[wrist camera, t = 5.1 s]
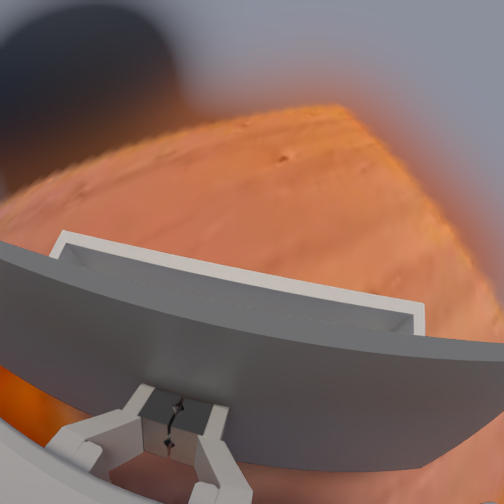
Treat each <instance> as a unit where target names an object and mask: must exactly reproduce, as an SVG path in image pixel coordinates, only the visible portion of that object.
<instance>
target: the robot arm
mask: <svg viewBox="0 0 504 504" xmlns="http://www.w3.org/2000/svg"><path fill="white" fill-rule="evenodd" d="M228 412H229V407H225V406H221V405H216V404H211V403H207V402H203V401H199V400H195V399H191V398H188V397H186V398H184V397H183V396H180V395H177V394H174V393H171V392H168V391H165V390H162V389H159V388H155V387H152V386H149V385H147V384H144V383H143V384H141V385H140V386H139V387H138V389H137V390H136V391H135V393H134V394H133V396H132V397H131V398H130V400H129V401H128V403H127V404H126V405H125V407H124V408H123V410H120V409H116V410H113V411H110V412H107V413H104V414H101V415H98V416H95V417H92V418H89V419H86V420H83V421H79V422H76V423H73V424H69V425H66V426H63V427H62V428H61V429H60V430H59V431H58V432H57V434H56V435H55V436H54V437H53V438H52V439H51V441H50V442H49V443H48V444H47V445H46V446H45V448H43V447H42V446H40V445H39V444H37V443H35V442H34V441H32V440H31V439H29V438H28V437H26V436H25V435H24V434H22V433H21V432H19V431H18V430H16V429H15V428H14V427H12V426H11V425H10V424H8V423H7V422H6V421H4V420H3V419H2V418H1V417H0V504H164V503H161V502H158V501H155V500H152V499H149V498H147V497H144V496H141V495H138V494H136V493H133V492H131V491H128V490H126V489H123V488H121V487H118V486H116V485H114V484H112V482H111V479H110V476H109V472H108V471H110V470H112V469H114V468H116V467H118V466H120V465H121V464H123V463H125V462H127V461H129V460H131V459H132V458H134V457H136V456H138V455H140V454H141V453H143V452H144V451H146V452H149V453H152V454H155V455H158V456H162V457H165V458H168V456H169V453H170V452H171V460H174V461H178V462H181V463H184V464H187V465H191V466H194V468H195V471H196V474H197V477H198V479H199V482H198V483H195V486H194V488H193V491H192V494H191V497H190V500H189V503H188V504H251V502H252V495H253V491H252V489H251V487H250V486H249V484H248V482H247V481H246V479H245V477H244V476H243V474H242V472H241V470H240V469H239V467H238V465H237V463H236V462H235V460H234V458H233V456H232V454H231V453H230V451H229V449H228V447H227V445H226V443H225V442H224V441H222V440H223V435H224V431H225V426H226V421H227V416H228ZM481 504H497V503H495V502H492V501H490V502H484V503H481Z"/></svg>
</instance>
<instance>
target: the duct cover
mask: <svg viewBox="0 0 504 504" xmlns="http://www.w3.org/2000/svg"><path fill="white" fill-rule="evenodd" d="M0 365H2V366H3V367H5V368H6V369H8V370H9V371H11V372H12V373H14V374H15V375H17V376H18V377H20V378H22V379H23V380H25V381H26V382H28V383H30V384H31V385H33V386H35V387H37V388H38V389H40V390H42V391H44V392H45V393H47V394H49V395H51V396H53V397H55V398H57V399H58V400H60V401H62V402H64V403H66V404H68V405H70V406H72V407H74V408H76V409H78V410H81V411H83V412H85V413H87V414H89V415H91V416H94V417H95V416H98V415H101V414H104V413H107V412H110V411H113V410H116V409H120V410H123V408H124V407H125V405H126V404H127V403H128V401H129V400H130V398H131V397H132V396H133V394H134V393H135V391H136V390H137V389H138V387H139V386H140V385H141V384H143V383H144V384H147V385H149V386H152V387H155V388H159V389H162V390H165V391H168V392H171V393H174V394H177V395H180V396H183V397H184V398H186V397H188V398H191V399H195V400H199V401H203V402H207V403H211V404H216V405H221V406H225V407H229V412H228V416H227V421H226V426H225V431H224V435H223V440H222V441H224V442H225V443H226V445H227V447H228V449H229V451H230V453H231V454H232V456H233V458H234V460H235V461H240V462H245V463H251V464H257V465H264V466H271V467H279V468H288V469H298V470H311V471H329V472H378V471H396V470H408V469H417V468H422V467H423V466H425V465H427V464H429V463H430V462H432V461H434V460H436V459H437V458H439V457H441V456H442V455H444V454H445V453H447V452H449V451H450V450H452V449H453V448H455V447H456V446H458V445H459V444H461V443H462V442H464V441H465V440H466V439H468V438H469V437H471V436H472V435H474V434H475V433H476V432H478V431H479V430H480V429H482V428H483V427H484V426H486V425H487V424H488V423H489V422H491V421H492V420H493V419H494V418H496V417H497V416H498V415H499V414H501V413H502V412H503V411H504V344H503V343H489V342H477V341H466V340H456V339H446V338H437V337H428V336H420V335H412V334H404V333H396V332H389V331H382V330H375V329H368V328H361V327H355V326H348V325H342V324H336V323H330V322H324V321H318V320H312V319H307V318H301V317H295V316H290V315H285V314H279V313H274V312H269V311H264V310H259V309H254V308H249V307H244V306H239V305H235V304H230V303H225V302H221V301H216V300H212V299H207V298H203V297H198V296H194V295H190V294H185V293H181V292H177V291H173V290H168V289H164V288H160V287H156V286H152V285H148V284H144V283H140V282H137V281H133V280H129V279H125V278H121V277H118V276H114V275H110V274H107V273H103V272H99V271H96V270H92V269H89V268H85V267H82V266H78V265H75V264H71V263H68V262H65V261H61V260H58V259H55V258H52V257H48V256H45V255H42V254H39V253H36V252H32V251H29V250H26V249H23V248H20V247H17V246H14V245H11V244H8V243H5V242H2V241H0Z"/></svg>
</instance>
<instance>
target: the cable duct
mask: <svg viewBox="0 0 504 504" xmlns="http://www.w3.org/2000/svg"><path fill="white" fill-rule="evenodd" d="M49 257H52V258H55V259H58V260H61V261H65V262H68V263H71V264H75V265H78V266H82V267H85V268H89V269H92V270H96V271H99V272H103V273H107V274H110V275H114V276H118V277H121V278H125V279H129V280H133V281H137V282H140V283H144V284H148V285H152V286H156V287H160V288H164V289H168V290H173V291H177V292H181V293H185V294H190V295H194V296H198V297H203V298H207V299H212V300H216V301H221V302H225V303H230V304H235V305H239V306H244V307H249V308H254V309H259V310H264V311H269V312H274V313H279V314H285V315H290V316H295V317H301V318H307V319H312V320H318V321H324V322H330V323H336V324H342V325H348V326H355V327H361V328H368V329H375V330H382V331H389V332H396V333H404V334H412V335H420V336H425V309H424V303H420V302H414V301H408V300H402V299H397V298H391V297H386V296H380V295H375V294H369V293H364V292H358V291H353V290H347V289H342V288H337V287H331V286H326V285H321V284H316V283H310V282H305V281H300V280H295V279H290V278H285V277H279V276H274V275H269V274H264V273H259V272H254V271H249V270H244V269H239V268H235V267H230V266H225V265H220V264H215V263H210V262H206V261H201V260H196V259H191V258H186V257H182V256H177V255H172V254H168V253H163V252H158V251H154V250H149V249H145V248H140V247H136V246H131V245H127V244H122V243H118V242H113V241H109V240H104V239H100V238H95V237H91V236H87V235H82V234H78V233H74V232H69V231H65V230H62V232H61V234H60V236H59V238H58V240H57V242H56V243H55V245H54V247H53V249H52V251H51V253H50V255H49Z"/></svg>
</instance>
